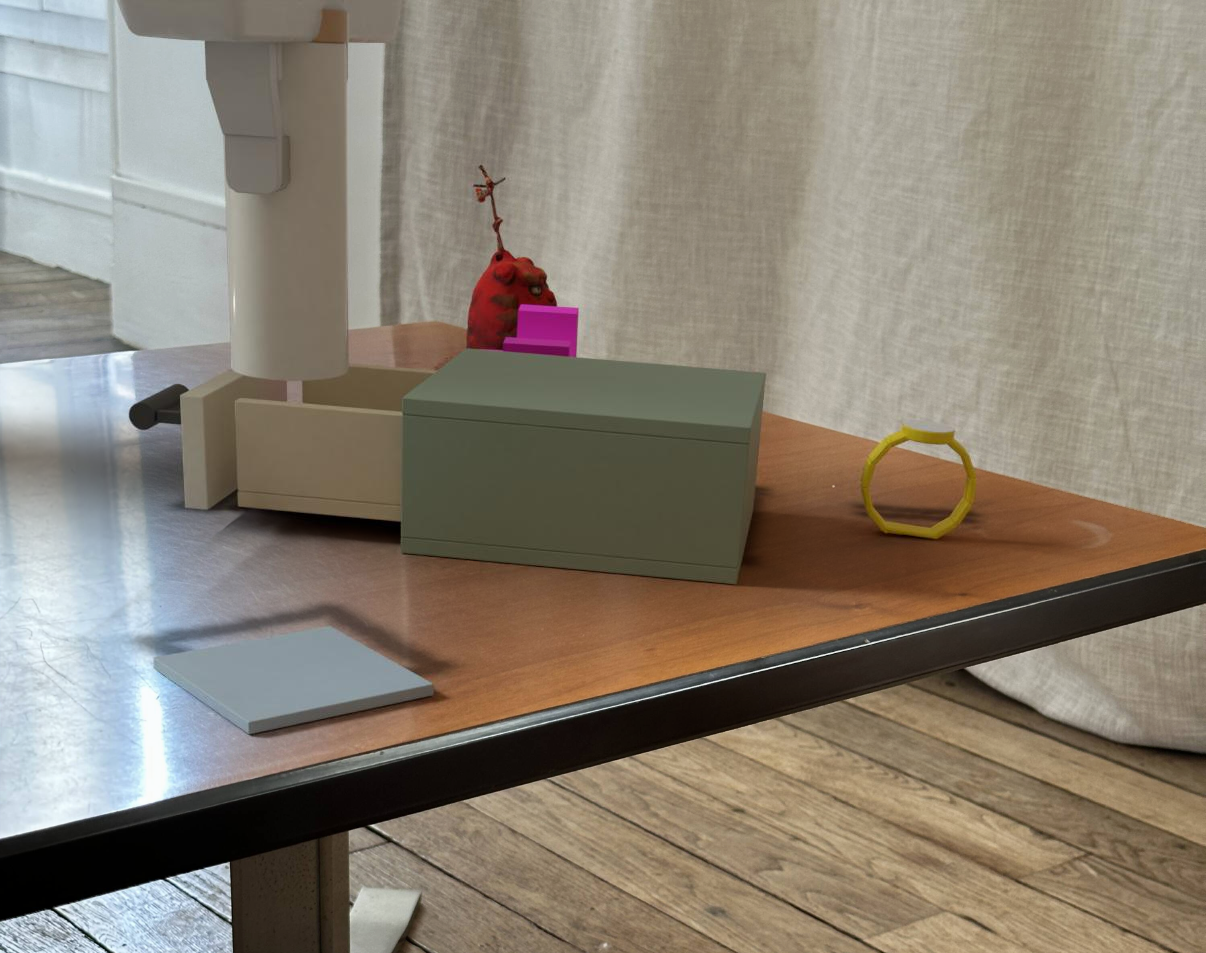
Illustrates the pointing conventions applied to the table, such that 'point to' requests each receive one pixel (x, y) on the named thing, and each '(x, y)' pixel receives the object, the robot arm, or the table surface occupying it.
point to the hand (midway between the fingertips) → (283, 186)
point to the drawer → (291, 440)
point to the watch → (928, 435)
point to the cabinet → (582, 464)
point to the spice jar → (297, 228)
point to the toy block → (545, 331)
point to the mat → (291, 678)
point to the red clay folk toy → (502, 289)
